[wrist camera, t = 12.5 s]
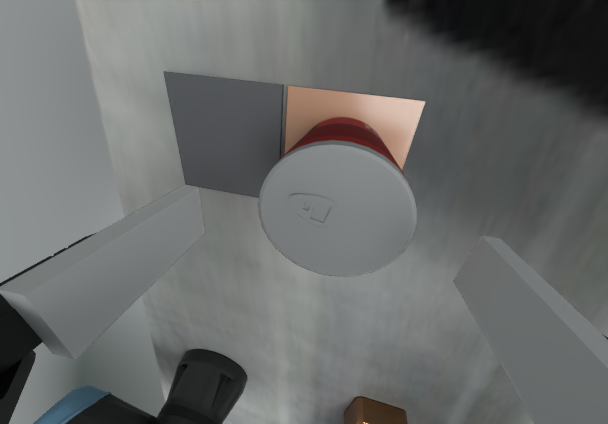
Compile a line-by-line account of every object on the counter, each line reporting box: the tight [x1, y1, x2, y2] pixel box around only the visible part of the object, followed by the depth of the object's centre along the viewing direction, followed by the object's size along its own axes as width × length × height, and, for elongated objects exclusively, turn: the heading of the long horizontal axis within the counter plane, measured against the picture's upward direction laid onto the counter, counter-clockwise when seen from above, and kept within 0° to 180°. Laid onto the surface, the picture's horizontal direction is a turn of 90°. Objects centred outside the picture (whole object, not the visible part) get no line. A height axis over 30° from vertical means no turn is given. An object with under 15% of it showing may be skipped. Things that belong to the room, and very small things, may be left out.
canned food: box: [258, 117, 417, 277], centre depth 15 cm, size 8×8×11 cm
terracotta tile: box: [285, 86, 425, 170], centre depth 20 cm, size 11×11×1 cm
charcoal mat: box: [164, 72, 284, 198], centre depth 22 cm, size 11×11×1 cm
